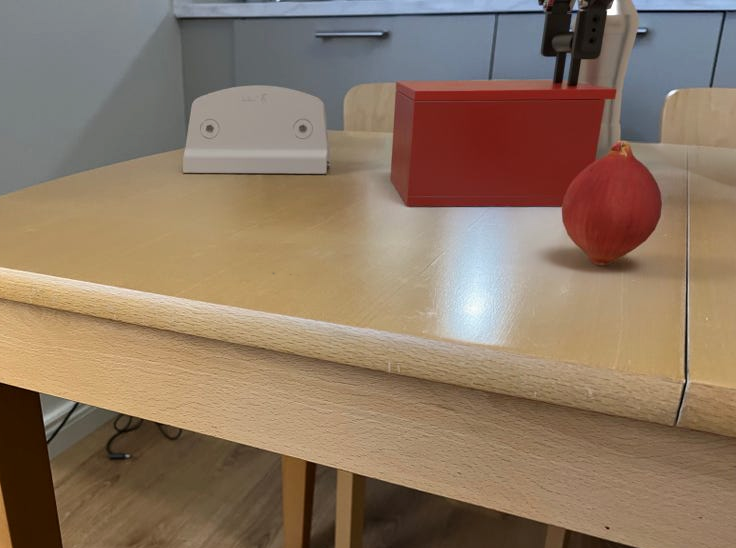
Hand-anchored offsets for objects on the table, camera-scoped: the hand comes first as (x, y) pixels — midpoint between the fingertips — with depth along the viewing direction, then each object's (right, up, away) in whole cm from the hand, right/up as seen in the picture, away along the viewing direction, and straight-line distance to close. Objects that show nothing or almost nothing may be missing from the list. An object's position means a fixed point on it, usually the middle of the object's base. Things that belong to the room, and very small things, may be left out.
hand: (567, 57), depth 67 cm
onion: (-5, -21, -17) cm, 28 cm away
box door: (-6, -3, +2) cm, 7 cm away
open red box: (-6, -11, +5) cm, 14 cm away
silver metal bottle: (+9, -5, +18) cm, 21 cm away
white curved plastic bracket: (-28, -5, +19) cm, 34 cm away
